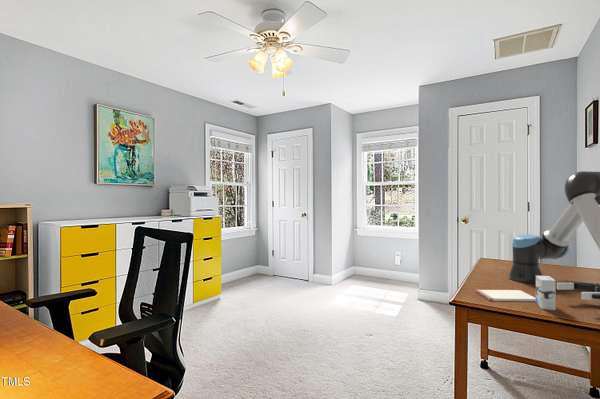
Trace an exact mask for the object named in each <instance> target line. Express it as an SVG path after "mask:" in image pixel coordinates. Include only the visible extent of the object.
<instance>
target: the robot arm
mask: <svg viewBox="0 0 600 399" xmlns="http://www.w3.org/2000/svg"><path fill="white" fill-rule="evenodd" d="M564 194H565V197H566V198H567V202H568V203H569V205H568V206H567V207H566V208H565V210H564V212H562V213H561V215H560V216H559V218H558V219H557V220H556V222H555V223H554V224H553V225H552V226H551V228H550V229H547V230H545V231H544V232H543V233H542V234H541V236H538V235H536V234H520V235H515V236H514V237H513V239H512V243H511V244H512V245H511V246H512V264H511V267H510V269H509V272H508V278H509V280H511V281H515V282H520V283H527V284H528V283H529V284H536V276H543V274H542V272H541V268H540V260H558V259H562V258H565V256H567V255H568V253H569V250H570V248H569V247H570V241H569V239H570V237H571V236H572V235H574V233H575V232H576V230H577V229H578V228H579V227H580V225H582V223H584V225H585V227H586V228H587V230H588V232H589V233H590V235H591V237H592V239H593V241H594V243H595V244H596V246H597V248H598V250H599V251H600V171H588V170H587V171H583V170H582V171H577V172H574V173H573V174H571V175H570V176H569V177H568V178H567V179H566V181H565V183H564ZM556 290H558V291H559V290H570V291H574V290H579V291H580V290H581V292H580V297H581V298H580V299H581V300H584V301H585V300H586V301H587V300H589V301H591V300H592V301H594V300H595V301H599V300H600V283H597V282H596V283H593V282H592V283H591V282H581V281H572V280H570V281H569V282H556Z"/></svg>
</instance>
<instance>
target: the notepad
mask: <svg viewBox="0 0 600 399" xmlns="http://www.w3.org/2000/svg"><path fill="white" fill-rule="evenodd" d="M475 293H476V294H478V295H480V297H483V298H484V299H486V300H487V301H489V302H501V301H502V302H536V296H532V295H531V294H529V293H526V292H525V291H523V290H520V289H475Z"/></svg>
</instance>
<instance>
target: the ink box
mask: <svg viewBox="0 0 600 399" xmlns="http://www.w3.org/2000/svg"><path fill="white" fill-rule="evenodd" d="M556 290H557V281H556V279H554V278H553V277H551V276H549V275H542V276H536V283H535V298H536V301H535V304H537V306H538V307H540V309H541V310H549V311H550V310H551V311H556V308H557V306H556V305H557V304H556V297H557V295H556Z"/></svg>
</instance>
